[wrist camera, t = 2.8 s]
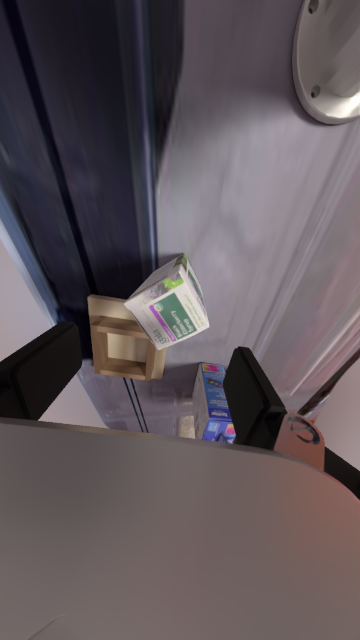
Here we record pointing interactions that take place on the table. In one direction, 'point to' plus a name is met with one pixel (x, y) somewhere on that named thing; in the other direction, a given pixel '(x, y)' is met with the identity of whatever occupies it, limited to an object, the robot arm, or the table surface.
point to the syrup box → (169, 304)
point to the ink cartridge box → (211, 405)
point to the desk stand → (121, 342)
